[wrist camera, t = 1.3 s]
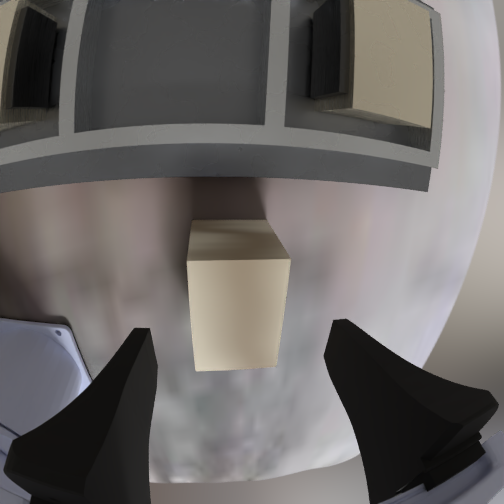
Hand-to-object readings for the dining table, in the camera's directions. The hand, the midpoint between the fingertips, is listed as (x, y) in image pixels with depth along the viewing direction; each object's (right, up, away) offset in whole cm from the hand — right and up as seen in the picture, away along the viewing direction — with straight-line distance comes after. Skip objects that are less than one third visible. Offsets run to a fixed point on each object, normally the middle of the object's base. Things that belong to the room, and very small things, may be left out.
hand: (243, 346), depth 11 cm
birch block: (-1, +3, +6) cm, 7 cm away
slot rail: (-3, +14, 0) cm, 14 cm away
